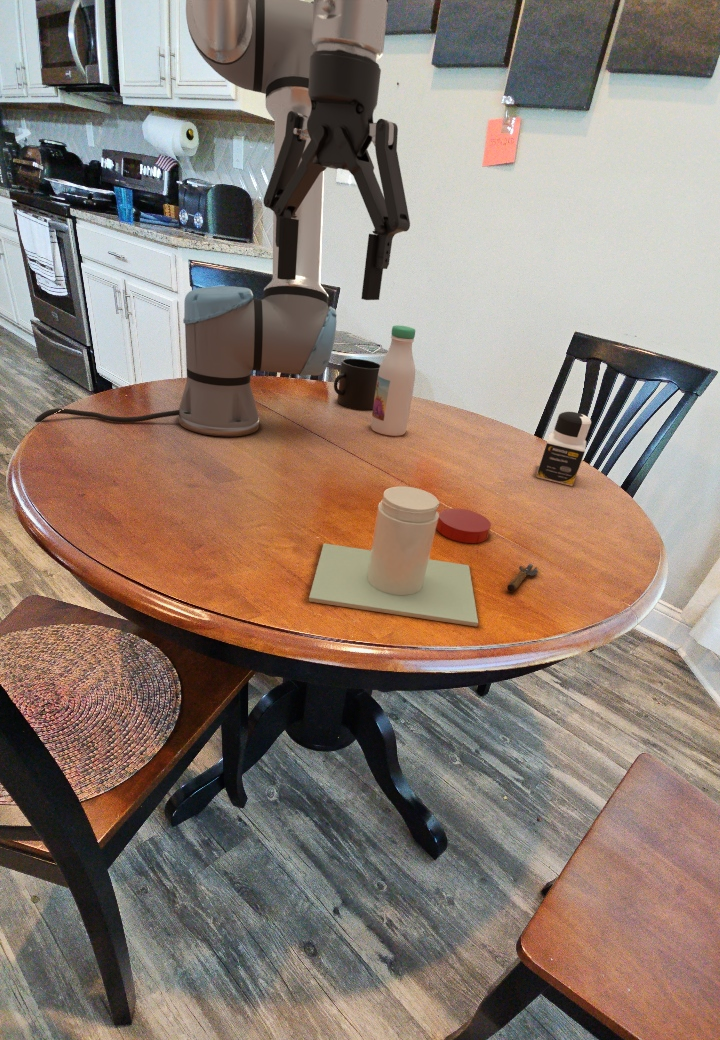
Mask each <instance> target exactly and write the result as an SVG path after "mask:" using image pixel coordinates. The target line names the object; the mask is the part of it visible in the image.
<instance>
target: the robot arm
mask: <svg viewBox="0 0 720 1040" xmlns="http://www.w3.org/2000/svg"><path fill="white" fill-rule="evenodd" d="M388 9H389V0H313V1H310V2H309V1H305V0H185V19H186V24H187V29H188V32H189V35H190V38H191V41H192V43H193V45H194V47H195V49H196V51H197V52H198V53H199V55H200V56H201V58H202V59H203V60H204V62H205V63H207V65H208V66H209V67H210V68H211V69H212V70H213V71H214V72H216V73H217V74H218V75H219V76H221V77H222V78H223V79H224V80H226V81H228V82H229V83H231V84H232V85H235V86H236V87H238V88H240V89H244V90H246V91H252V92H256V93H262V94H264V95H265V108H266V112H267V113H268V114H269V115H270V117H271V118H272V119H273V121H274V135H273V136H274V137H273V138H274V139H273V140H274V141H273V142H274V143H273V144H274V145H273V148H274V150H273V151H274V152H273V157H274V158H273V170H272V173H271V176H270V179H269V182H268V185H267V188H266V191H265V194H264V197H263V205H264V207H265V208H267V209H269V210H271V211H272V212H273V214H272V215H273V216H272V218H273V219H272V220H273V221H272V278H271V281H270V282H269V283H268V284H267V285H266V286H265V287H264V288H263V299H260V298H259V299H257V298H254V294H253V291H252V290H251V288H248V287H245V286H231V285H221V286H219V285H217V286H206V287H205V286H204V287H199V288H195V289H194V288H193V289H192V290H190V291H188V292H187V294H186V295H185V297H184V307H183V309H184V313H183V315H184V317H183V320H182V321H183V322H182V323H183V324H184V330H185V331H184V336H185V359H186V360H185V362H186V363H185V365H186V382H185V386H184V388H183V389H184V390H183V392H182V395H181V400H180V404H179V407H178V409H175V410H168V411H162V412H156V413H155V412H154V413H150V414H145V415H140V416H113V415H107V414H103V413H99V412H96V411H86V410H78V409H71V408H51V409H48V410H46V411H43V412H42V413H40V414H38V416H37V417H36V418H35V419H34V423H41V422H42V421H44V420H45V419H47V418H48V417H50V416H53V415H61V414H62V415H63V414H64V415H72V416H80V417H88V418H96V419H101V420H103V421H107V422H113V423H137V422H144V421H151V420H155V419H160V418H169V417H174V416H175V417H176V416H178V423H179V425H180V426H182V427H183V428H184V429H187V430H188V431H191V432H193V433H198V434H201V435H207V436H214V437H230V438H231V437H242V436H248V435H250V434H253V433H255V432H257V431H258V430H259V429H260V415H259V411H258V407H257V404H256V401H255V397H254V394H253V389H252V387H251V373H252V371H256V372H264V373H265V372H267V373H278V374H289V375H298V376H299V377H302V376H321V375H322V374H323V373H325V371H326V370H327V368H328V365H329V363H330V360H331V356H332V353H333V347H334V342H335V338H336V330H337V316H338V314H337V310H336V309H335V308H333V307H332V306H329V294H328V293H327V291H326V290H325V289H324V287H323V286H322V285H321V276H322V275H321V271H322V242H323V216H324V188H325V187H324V183H325V171H326V170H327V168H328V169H333V170H338V169H339V170H344V171H348V172H349V173H350V174H351V175H352V177H353V179H354V181H355V184H356V186H357V188H358V191H359V193H360V196H361V198H362V201H363V203H364V205H365V206H364V207H365V208H366V211H367V213H368V215H369V218H370V220H371V224H372V225H373V230H372V231H371V232H372V233H368V238H367V246H366V255H365V265H364V272H363V281H362V289H361V297H360V299H361V300H363V301H364V300H365V301H379V300H380V297H381V296H380V295H381V288H382V280H383V272H384V270H387V269H388V268H389V265H390V260H391V252H392V245H393V238H394V237H395V235H397V234H400V233H402V232H405V233H406V232H408V231H409V230H410V227H411V222H410V215H409V210H408V209H409V208H408V204H407V199H406V194H405V188H404V183H403V178H402V177H403V176H402V172H401V166H400V160H399V155H398V151H397V149H398V132H399V128H398V125H397V123H395V122H392V121H390V120H388V119H385V118H379V119H378V120H377V121H376V122H374V112H375V110H376V109H377V107H378V101H379V100H378V99H379V90H380V82H381V81H380V80H381V74H382V73H381V72H382V69H381V68H380V65H379V63H378V62H377V61H378V60H380V59H381V57H382V56H384V48H385V39H386V28H387V21H388V20H387V19H388ZM371 143H372V144H373V146H374V148H375V149H374V150H375V157H376V164H377V168H378V172H379V177H380V184H381V186H380V184H379V181H378V179H377V177H376V174H375V172H374V170H375V166H374V164H373V160H372V158H371V156H370V152H369V151H368V149H369V147H370V145H371ZM381 187H382V189H381ZM62 409H64V410H62ZM59 410H61V411H60V412H58V411H59ZM56 412H57V413H56ZM54 413H56V414H54Z"/></svg>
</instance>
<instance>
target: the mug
mask: <svg viewBox="0 0 720 1040" xmlns="http://www.w3.org/2000/svg"><path fill="white" fill-rule="evenodd" d="M380 365H381V363H378V362H375V361H371V360H369V359H368V360H367V359H361V358H344V359H342V360H341V362H340V372H339V374H338V375H337V376H336V377H335V379H334V382H333V390H334V392H335V393H336V395H337V403H338V404H339V405H341V406H343V407H345V408H348V409H352V410H357V411H358V410H359V411H370V410H373V405H374V398H375V391H376V384H377V378H378V372H379V368H380Z"/></svg>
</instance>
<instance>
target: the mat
mask: <svg viewBox="0 0 720 1040" xmlns="http://www.w3.org/2000/svg"><path fill="white" fill-rule="evenodd" d="M370 553H371V549H370V550H369V549H364V548H358V547H351V546H345V545H338V544H331V543H323V544H322V548H321V552H320V556H319V560H318V562H317V566H316V570H315V575H314V578H313V581H312V586H311V589H310V593H309V596H308V602H310V603H316V604H323V605H329V606H337V607H343V608H348V609H349V608H350V609H355V610H362V611H370V612H376V613H383V614H384V613H385V614H390V615H397V616H402V617H410V618H416V619H422V620H430V621H436V622H442V623H449V624H456V625H463V626H469V627H478V626H479V619H478V612H477V607H476V606H477V605H476V600H475V593H474V588H473V583H472V576H471V569H470V565H469V564H463V563H456V562H450V561H443V560H437V559H431V558H429V562H428V567H427V571H426V576H425V580H424V584H423V588H422V589H421V590H420V591H419V592H417V593H415V594H411V595H393V594H388V593H385V592H382V591H380V590H378V589H376V588H375V587H373V586H372V585H371V584H370V583H369V581H368V579H367V572H368V566H369V559H370Z"/></svg>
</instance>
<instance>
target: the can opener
mask: <svg viewBox="0 0 720 1040" xmlns="http://www.w3.org/2000/svg"><path fill="white" fill-rule="evenodd" d="M533 566H534V565H533V564H532V563H528V565H527V566H526V568H525V569H523V566H522V565H520V566H519V567H518V569H519V571H520V572H519V573H518V574H517V575H516V577H514V578H513V579H512V580H511V581H510V582H509V583H508V585H507V591H508V592H510V593H512V592H514V591H516V590H517V589H518V588H519V587H520V585H521V584H522V582H523V581H524V580H525V579H526V578H527V577H528V576H536V575H537V574H538V573H539V570H538V567H537V566H535V567H534V568H533ZM532 568H533V569H532Z"/></svg>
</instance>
